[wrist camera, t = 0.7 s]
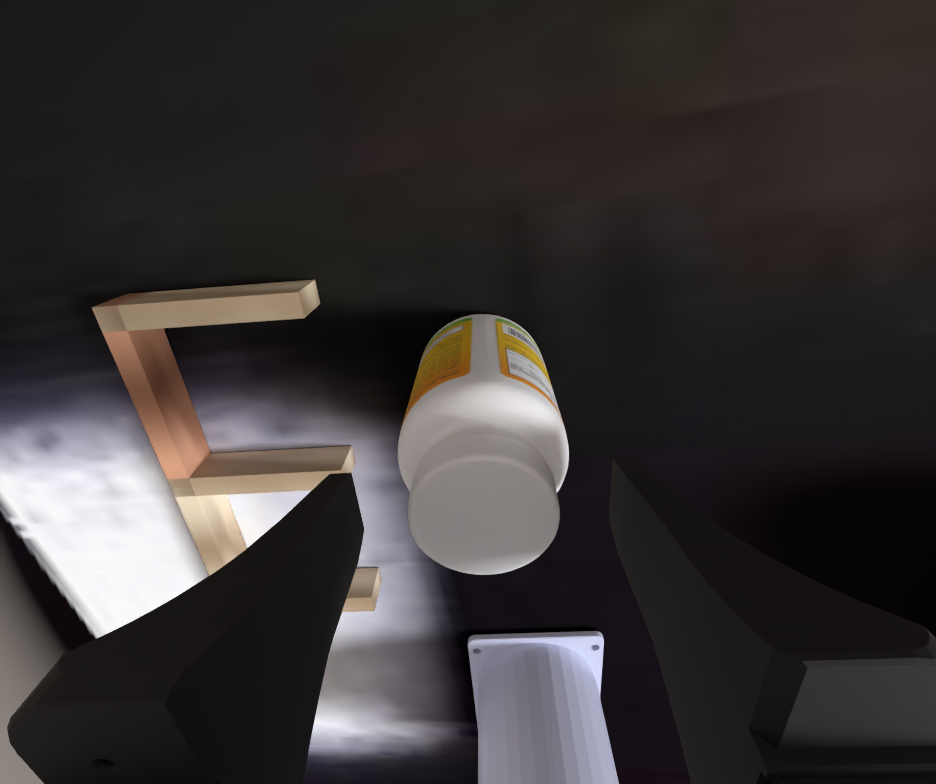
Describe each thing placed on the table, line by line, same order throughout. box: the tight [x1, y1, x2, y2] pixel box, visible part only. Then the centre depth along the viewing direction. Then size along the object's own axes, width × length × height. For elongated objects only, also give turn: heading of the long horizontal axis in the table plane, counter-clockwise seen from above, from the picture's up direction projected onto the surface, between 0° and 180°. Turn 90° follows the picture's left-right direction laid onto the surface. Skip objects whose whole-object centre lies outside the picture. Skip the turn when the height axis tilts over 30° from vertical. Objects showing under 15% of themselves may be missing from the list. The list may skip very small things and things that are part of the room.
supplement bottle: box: [398, 314, 569, 575], centre depth 17 cm, size 5×5×10 cm
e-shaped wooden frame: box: [91, 280, 382, 612], centre depth 22 cm, size 17×8×2 cm, turn 5°
